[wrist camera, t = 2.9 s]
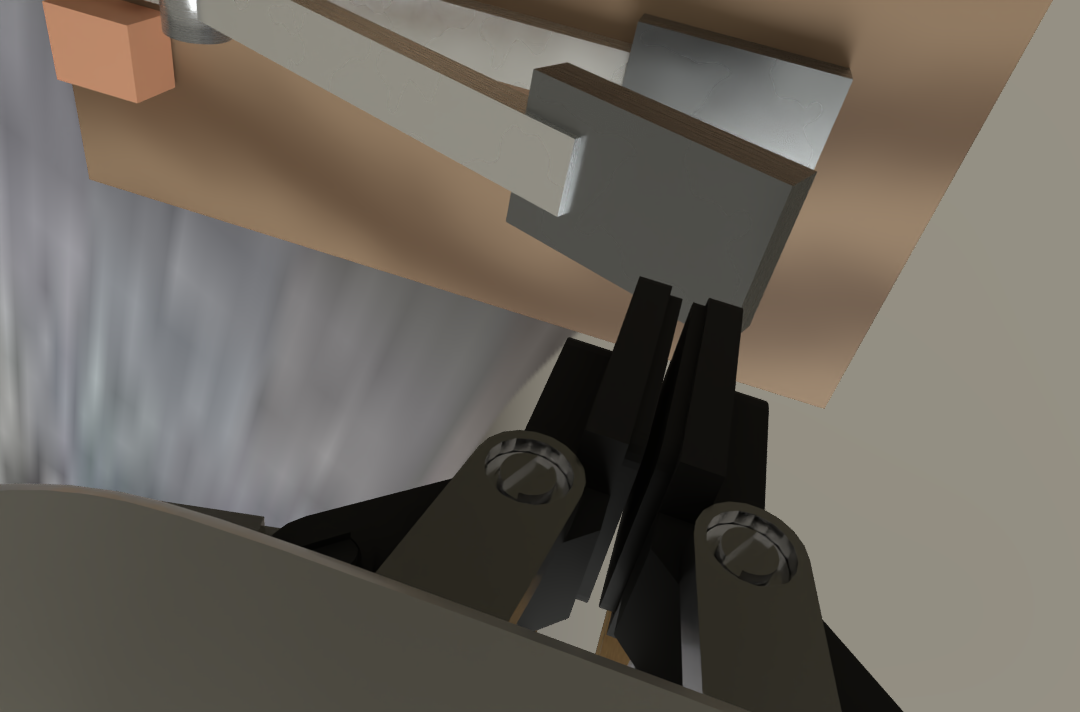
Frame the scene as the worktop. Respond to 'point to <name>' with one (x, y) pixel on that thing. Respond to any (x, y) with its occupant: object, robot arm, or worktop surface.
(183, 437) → the worktop surface
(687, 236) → the upper tong arm
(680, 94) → the tongs lower arm
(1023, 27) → the walnut cutting board
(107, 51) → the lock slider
